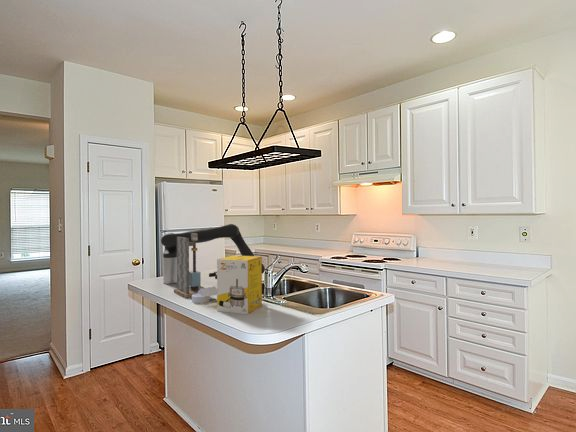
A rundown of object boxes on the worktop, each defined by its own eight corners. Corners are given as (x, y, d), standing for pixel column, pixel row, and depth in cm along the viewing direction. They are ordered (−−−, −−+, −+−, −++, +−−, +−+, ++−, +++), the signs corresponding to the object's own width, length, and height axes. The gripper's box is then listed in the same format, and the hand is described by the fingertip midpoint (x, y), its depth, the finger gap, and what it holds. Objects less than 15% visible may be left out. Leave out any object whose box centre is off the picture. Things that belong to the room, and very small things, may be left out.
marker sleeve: (188, 285, 209) (188, 271, 209) (196, 284, 212) (196, 270, 212) (192, 286, 205) (191, 273, 205) (200, 285, 208) (200, 272, 208)
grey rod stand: (174, 292, 210) (173, 233, 210) (199, 288, 220) (199, 232, 219) (185, 298, 196) (185, 235, 195) (212, 294, 206) (212, 233, 205)
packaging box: (217, 311, 171) (216, 259, 171) (233, 302, 187) (233, 255, 186) (247, 314, 166) (247, 260, 166) (261, 305, 181) (261, 256, 181)
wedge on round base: (210, 297, 199) (188, 300, 191) (210, 285, 199) (188, 288, 191) (218, 300, 192) (196, 304, 184) (218, 287, 192) (196, 291, 184)
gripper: (230, 266, 231) (207, 268, 221) (241, 268, 219) (217, 271, 209) (230, 277, 231) (207, 280, 221) (241, 280, 219) (217, 284, 209)
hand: (212, 276), depth 215 cm, fingers open, 8 cm apart
